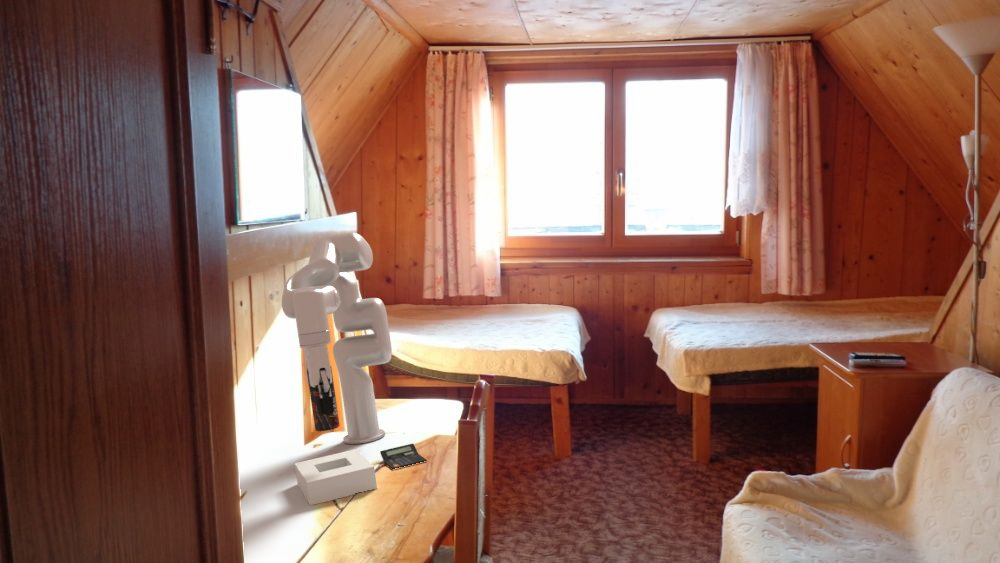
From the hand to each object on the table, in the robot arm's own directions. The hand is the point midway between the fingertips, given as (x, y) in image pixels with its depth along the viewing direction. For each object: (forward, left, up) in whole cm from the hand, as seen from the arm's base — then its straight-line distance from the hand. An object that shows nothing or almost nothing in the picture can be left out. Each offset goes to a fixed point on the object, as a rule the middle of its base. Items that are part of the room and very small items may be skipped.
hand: (325, 410), depth 192 cm
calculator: (-8, +20, -20) cm, 29 cm away
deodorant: (0, 0, -5) cm, 5 cm away
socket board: (0, 0, -19) cm, 19 cm away
